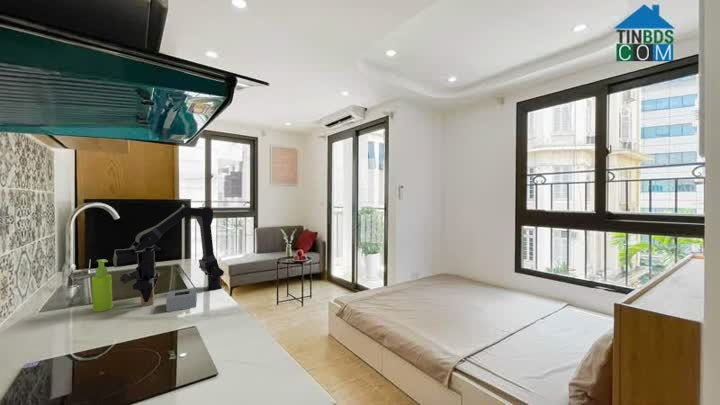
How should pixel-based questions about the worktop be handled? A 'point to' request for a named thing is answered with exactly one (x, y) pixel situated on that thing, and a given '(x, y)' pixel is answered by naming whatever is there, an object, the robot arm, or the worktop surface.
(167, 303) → the grey square socket block
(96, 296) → the soap dispenser
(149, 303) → the tan rectangular block
